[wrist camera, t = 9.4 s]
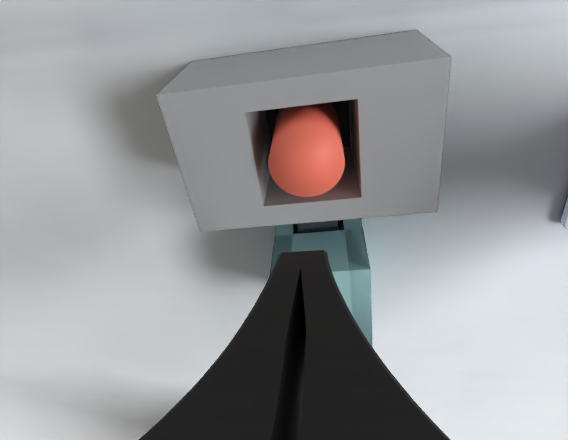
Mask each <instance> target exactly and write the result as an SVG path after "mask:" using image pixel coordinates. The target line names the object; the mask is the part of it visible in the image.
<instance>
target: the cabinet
mask: <svg viewBox="0 0 568 440" xmlns="http://www.w3.org/2000/svg"><path fill="white" fill-rule="evenodd" d="M450 66H451V56H450V55H449V54H447V53H446V52H445V51H444V50H442V49H441V48H440V47H438V46H437V45H436V44H435V43H433V42H432V41H431V40H429V39H428V38H427V37H426V36H424V35H423V34H422V33H420V32H419V31H418V30H412V31H405V32H398V33H391V34H384V35H376V36H369V37H362V38H355V39H348V40H341V41H334V42H326V43H319V44H312V45H305V46H298V47H291V48H284V49H277V50H269V51H262V52H255V53H248V54H241V55H234V56H227V57H219V58H212V59H205V60H198V61H191V62H190V63H189V64H188V65H187V66H186V67H185V68H184V69H183V70H182V71H181V72H180V73H179V74H178V75H177V76H176V77H175V78H173V79H172V80H171V81H170V82H169V83H168V84H167V85H166V86H165V87H164V88H163V89H162V90H161V91H160V92H159V93H158V94H157V95H156V96H157V99H158V103H159V106H160V109H161V112H162V115H163V118H164V121H165V124H166V127H167V131H168V134H169V137H170V140H171V143H172V146H173V149H174V152H175V155H176V159H177V162H178V165H179V168H180V171H181V174H182V177H183V180H184V183H185V186H186V190H187V193H188V196H189V199H190V202H191V205H192V208H193V211H194V214H195V218H196V221H197V224H198V227H199V230H200V232H203V231H215V230H227V229H238V228H250V227H262V226H274V225H286V224H298V223H310V222H322V221H334V220H346V219H358V218H370V217H382V216H393V215H405V214H417V213H429V212H437V210H438V199H439V188H440V177H441V166H442V155H443V143H444V132H445V121H446V110H447V99H448V88H449V77H450ZM345 100H349V114H350V134H351V146H347V147H343V152H344V158H345V167H344V171H343V174H342V176H341V178H340V180H339V181H338V183H337V184H336V185H335V186H334V187H333V188H332V189H330V190H329V191H327V192H325V193H323V194H321V195H318V196H313V197H300V196H295V195H292V194H290V193H287V192H286V191H284V190H283V189H281V188H280V187H279V186H278V185H277V184H276V183H275V181H274V180H273V178H272V176H271V174H270V171H269V165H268V160H269V154H270V149H271V139H270V134H269V128H268V122H267V116H266V110H270V109H279V108H287V107H295V106H303V105H312V104H320V103H328V102H336V101H345Z"/></svg>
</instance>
